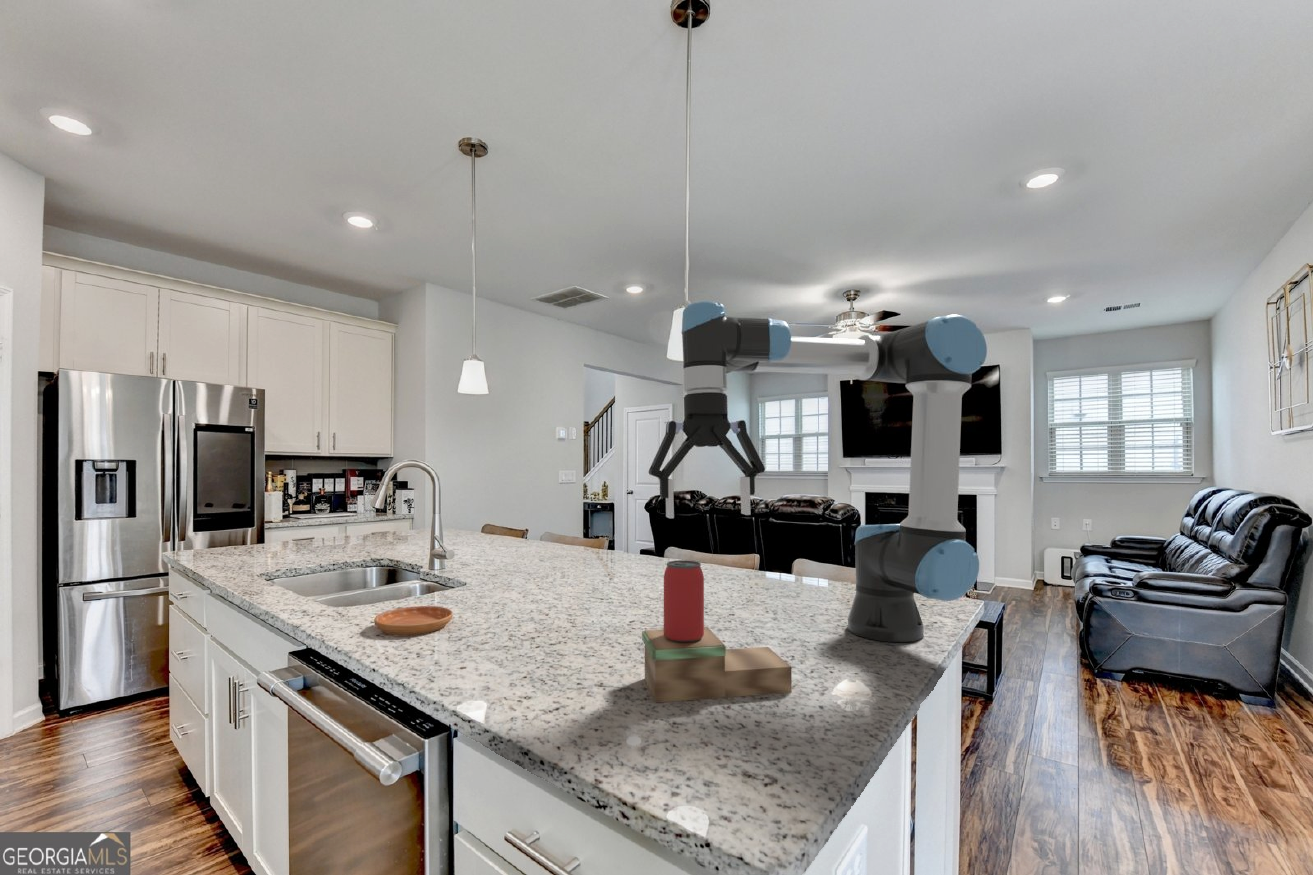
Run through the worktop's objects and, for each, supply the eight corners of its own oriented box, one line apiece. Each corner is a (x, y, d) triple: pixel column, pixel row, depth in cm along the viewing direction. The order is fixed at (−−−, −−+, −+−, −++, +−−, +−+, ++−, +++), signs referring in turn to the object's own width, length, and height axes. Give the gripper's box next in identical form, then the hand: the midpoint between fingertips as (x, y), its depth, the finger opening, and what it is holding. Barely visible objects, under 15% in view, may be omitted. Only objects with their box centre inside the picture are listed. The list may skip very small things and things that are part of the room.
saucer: (466, 620, 135) (466, 607, 135) (423, 641, 119) (424, 627, 119) (405, 616, 139) (405, 603, 139) (356, 636, 123) (357, 621, 123)
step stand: (768, 670, 103) (768, 623, 103) (792, 693, 93) (792, 642, 93) (642, 678, 99) (642, 630, 99) (652, 704, 88) (653, 650, 89)
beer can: (682, 629, 100) (682, 558, 100) (712, 637, 95) (712, 563, 96) (654, 637, 95) (655, 562, 96) (684, 646, 90) (684, 568, 91)
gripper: (764, 395, 108) (767, 510, 107) (630, 395, 103) (633, 516, 102) (781, 390, 101) (785, 514, 100) (638, 390, 96) (641, 521, 95)
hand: (708, 516), depth 101 cm, fingers open, 13 cm apart
